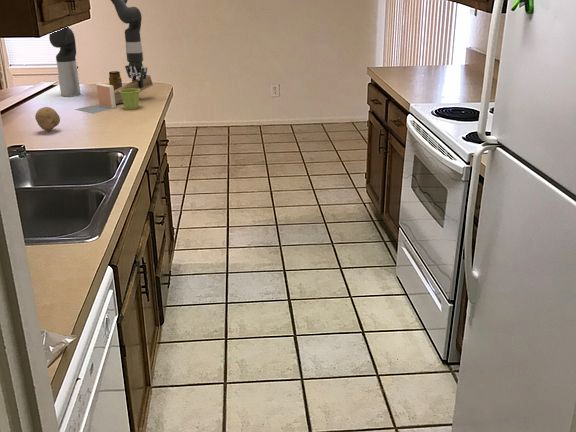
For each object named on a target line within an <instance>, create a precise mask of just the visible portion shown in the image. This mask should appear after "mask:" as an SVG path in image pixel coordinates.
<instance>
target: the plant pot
mask: <svg viewBox="0 0 576 432" xmlns="http://www.w3.org/2000/svg"><path fill="white" fill-rule="evenodd" d="M139 91H140V89H134V88H132V89H123V90H120V91H119V92H120V94H121V96H122V100H123V101H122V103H123V107H124V109H125V110H137V109H138V108H139V105H140V103H139V101H140V100H139V99H140V97H139V95H140V92H139ZM136 108H137V109H136Z"/></svg>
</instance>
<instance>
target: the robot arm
mask: <svg viewBox="0 0 576 432" xmlns="http://www.w3.org/2000/svg"><path fill="white" fill-rule="evenodd" d="M110 2H111V3H112V4H113V6H114V8H115V11H116V14H117V16H118V18H119V20H120V21H121V22H122V23H123V24H128V27H127V28H126V29H124V38H125V52H126V53H125V54H126V61H127V62H128V64H127V65H125V66H124V68H125V71H126V74H127V76H128V78H130V79H131V82H132V81H134V80H136V79H138V80H139V81H138V85H139V88H143V79H146V75H148V74H147V73H148V67H147V66H146V67H145V66H144V65H143V61H144V53H143V52H144V51H143V46H142V41H141V40H142V39H141V38H142V37H141V27H142V13H141V10H140V9H139V8H138V7H137V6H127V3H128V0H110ZM74 33H75V32H73V30H72V29H71V28H70V26H69V27H67V28H64V29H62V30H60V31H57V32H54V33H52V34H50V33H49V35H48V36H49V37H48V38H49V42H50V43H49V44H51V45H52V46H53V47H54V48H59V49H60V50H59V52H58V53H57V54H56V56H55V61H56V66H57V73H58V76H57V77H58V85H59V90H60V95H61V96H63V97H75V96H76V97H77V96H81V93H82V92H81V87H80V78H79V72H78V66H77V59H76V56H77V45H76V37H75V34H74ZM143 76H144V77H143Z"/></svg>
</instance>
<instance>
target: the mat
mask: <svg viewBox="0 0 576 432" xmlns="http://www.w3.org/2000/svg"><path fill="white" fill-rule="evenodd" d="M119 108H120V106H116V108H109V107H104V106H99V103H97V104H94V105H93V104H91V105H87V106H84V107H79V108H74V111H79V112H84V113H88V114H97V113H102V112H105V111H111V110H115V109H119Z"/></svg>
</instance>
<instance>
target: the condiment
mask: <svg viewBox="0 0 576 432" xmlns="http://www.w3.org/2000/svg"><path fill="white" fill-rule="evenodd" d="M108 76H109V77H108V81H109V84H108V85H111V86H113V88H114V91H115V90H117V89H119V88H120V87H122V86H123V83H122V82H123V81H122V77H121V72H120V71H118V70H114V71H113V70H112V71H109V73H108Z"/></svg>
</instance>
